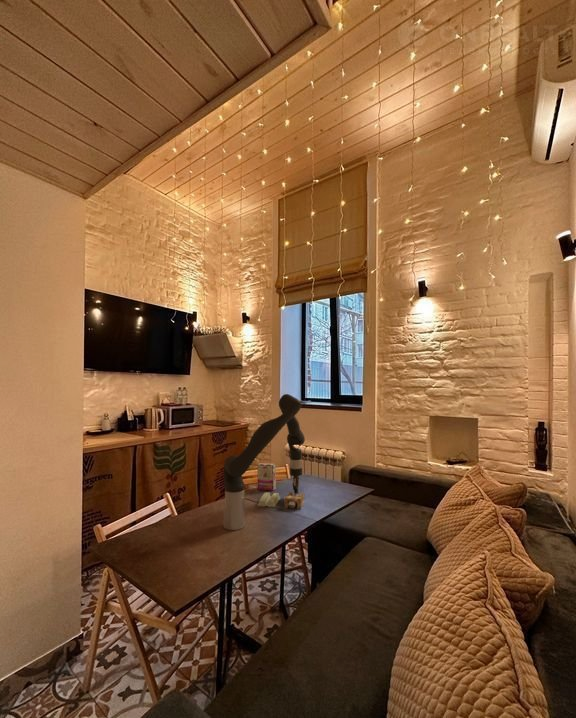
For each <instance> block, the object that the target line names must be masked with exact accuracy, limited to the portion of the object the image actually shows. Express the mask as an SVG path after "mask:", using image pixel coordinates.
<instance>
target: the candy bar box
mask: <svg viewBox="0 0 576 718" xmlns="http://www.w3.org/2000/svg"><path fill="white" fill-rule="evenodd" d="M256 468H257V490H258V491H266V490H269V491H268V492H275V490H276V489H277V485H276V484H277V482H276V480H277V479H276V478H277V475H276V473H277V472H276V469H277V468H276V463H271V462H269V463H268V462H259V463H257V467H256Z"/></svg>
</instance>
